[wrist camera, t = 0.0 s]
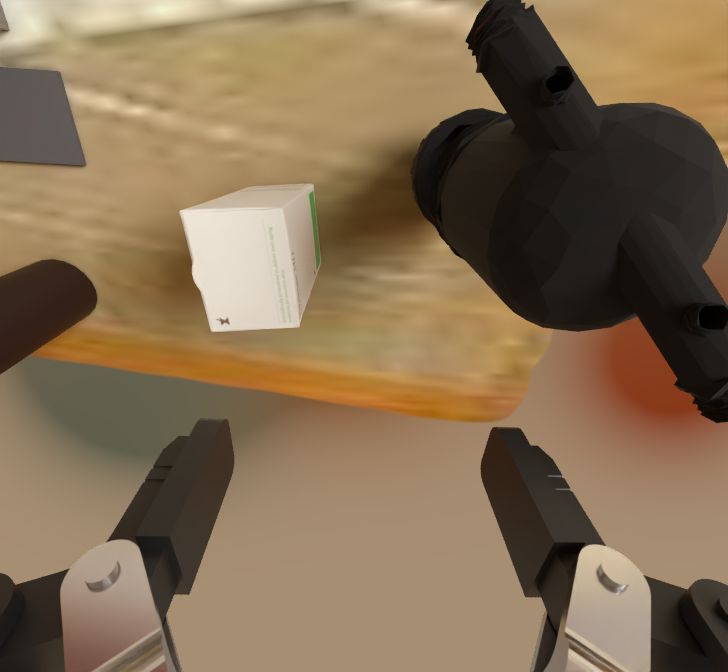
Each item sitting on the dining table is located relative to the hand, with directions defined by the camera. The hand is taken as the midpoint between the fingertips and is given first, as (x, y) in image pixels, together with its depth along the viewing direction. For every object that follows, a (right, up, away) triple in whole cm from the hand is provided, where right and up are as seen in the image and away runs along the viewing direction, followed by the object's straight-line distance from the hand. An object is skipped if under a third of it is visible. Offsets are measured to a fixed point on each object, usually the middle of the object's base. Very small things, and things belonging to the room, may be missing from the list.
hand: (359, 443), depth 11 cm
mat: (-30, +22, +20) cm, 43 cm away
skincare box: (-8, +15, +25) cm, 30 cm away
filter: (+8, +20, +23) cm, 31 cm away
